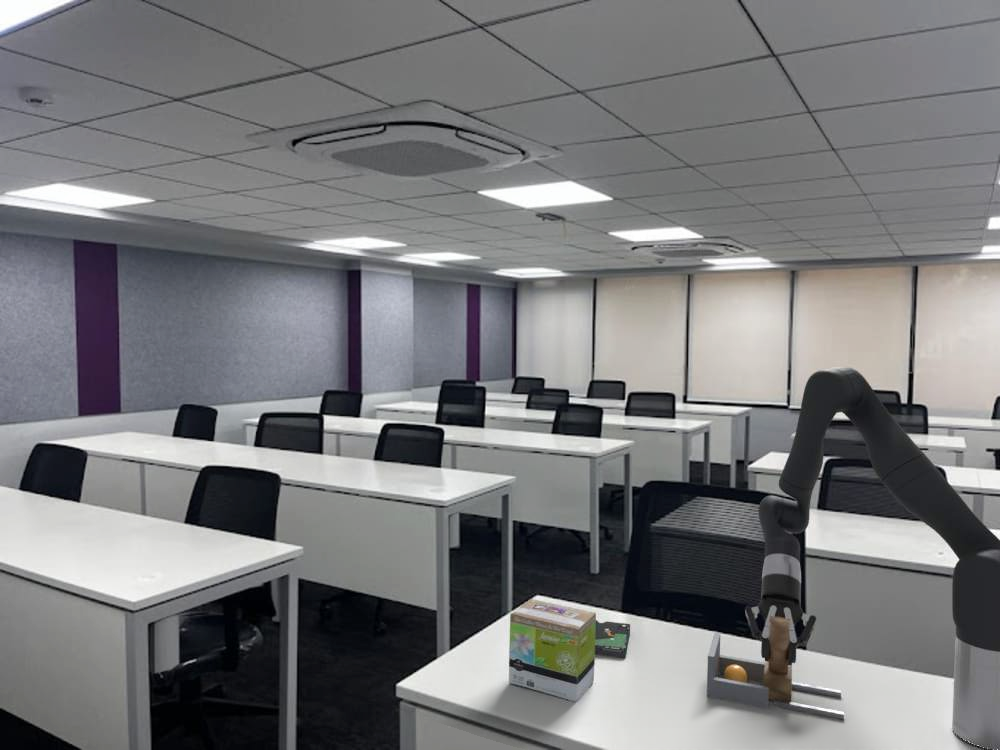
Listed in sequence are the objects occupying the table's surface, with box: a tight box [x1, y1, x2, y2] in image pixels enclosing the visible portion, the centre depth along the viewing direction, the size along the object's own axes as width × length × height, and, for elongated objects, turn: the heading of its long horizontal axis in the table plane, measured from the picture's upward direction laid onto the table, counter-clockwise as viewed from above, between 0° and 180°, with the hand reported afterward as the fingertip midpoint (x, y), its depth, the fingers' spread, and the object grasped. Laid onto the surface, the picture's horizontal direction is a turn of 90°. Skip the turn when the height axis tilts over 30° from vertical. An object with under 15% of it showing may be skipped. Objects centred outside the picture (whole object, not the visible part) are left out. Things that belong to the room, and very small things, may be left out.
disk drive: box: [595, 619, 631, 659], centre depth 162 cm, size 10×3×15 cm
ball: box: [723, 665, 748, 683], centre depth 141 cm, size 4×4×4 cm
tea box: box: [508, 598, 597, 703], centre depth 141 cm, size 15×10×15 cm, turn 62°
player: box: [763, 616, 793, 702], centre depth 138 cm, size 5×6×15 cm
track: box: [773, 681, 845, 720], centre depth 136 cm, size 12×10×1 cm
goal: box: [706, 632, 769, 709], centre depth 141 cm, size 11×12×8 cm
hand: (778, 661), depth 136 cm, fingers closed on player, 3 cm apart
